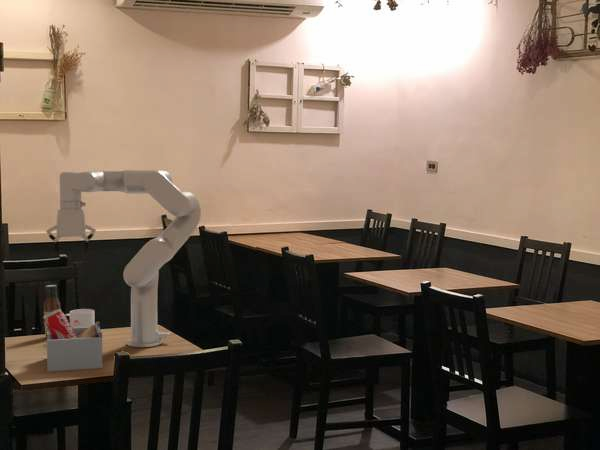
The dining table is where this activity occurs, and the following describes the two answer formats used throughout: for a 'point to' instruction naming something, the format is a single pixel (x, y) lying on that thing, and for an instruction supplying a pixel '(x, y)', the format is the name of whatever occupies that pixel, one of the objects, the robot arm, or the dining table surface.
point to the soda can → (58, 325)
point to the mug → (81, 318)
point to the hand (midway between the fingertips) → (71, 252)
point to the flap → (88, 333)
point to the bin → (75, 351)
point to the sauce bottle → (51, 301)
